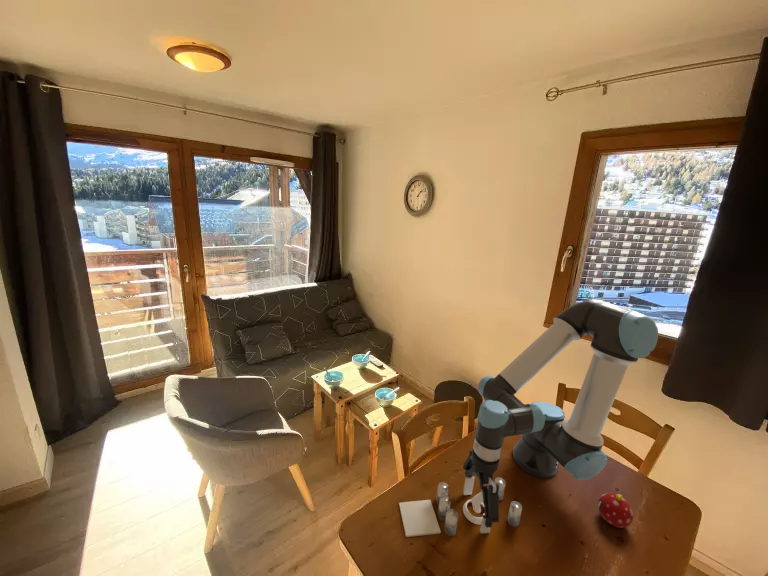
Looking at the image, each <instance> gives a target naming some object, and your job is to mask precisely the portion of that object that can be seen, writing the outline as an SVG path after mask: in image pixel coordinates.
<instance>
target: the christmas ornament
mask: <svg viewBox="0 0 768 576" xmlns="http://www.w3.org/2000/svg"><path fill="white" fill-rule="evenodd" d="M597 509H598V512H599V513H600V515H601V517H602V519H604V520H605V521H606V523H608V524H609V525H611V526H613V527H616V528H620V529H621V528H623V529H624V528H627V527H629V526H630V525H631V524H632V522H633V520H634V513H633V509H632V507H631V505H630V504H629V502H628V501H627V500H626V499H625V498H624V497H623V495H622V494H619V493H617V494H616V493H613V492H608V493H604V494H602V495H601V496H599V499H598V501H597Z"/></svg>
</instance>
